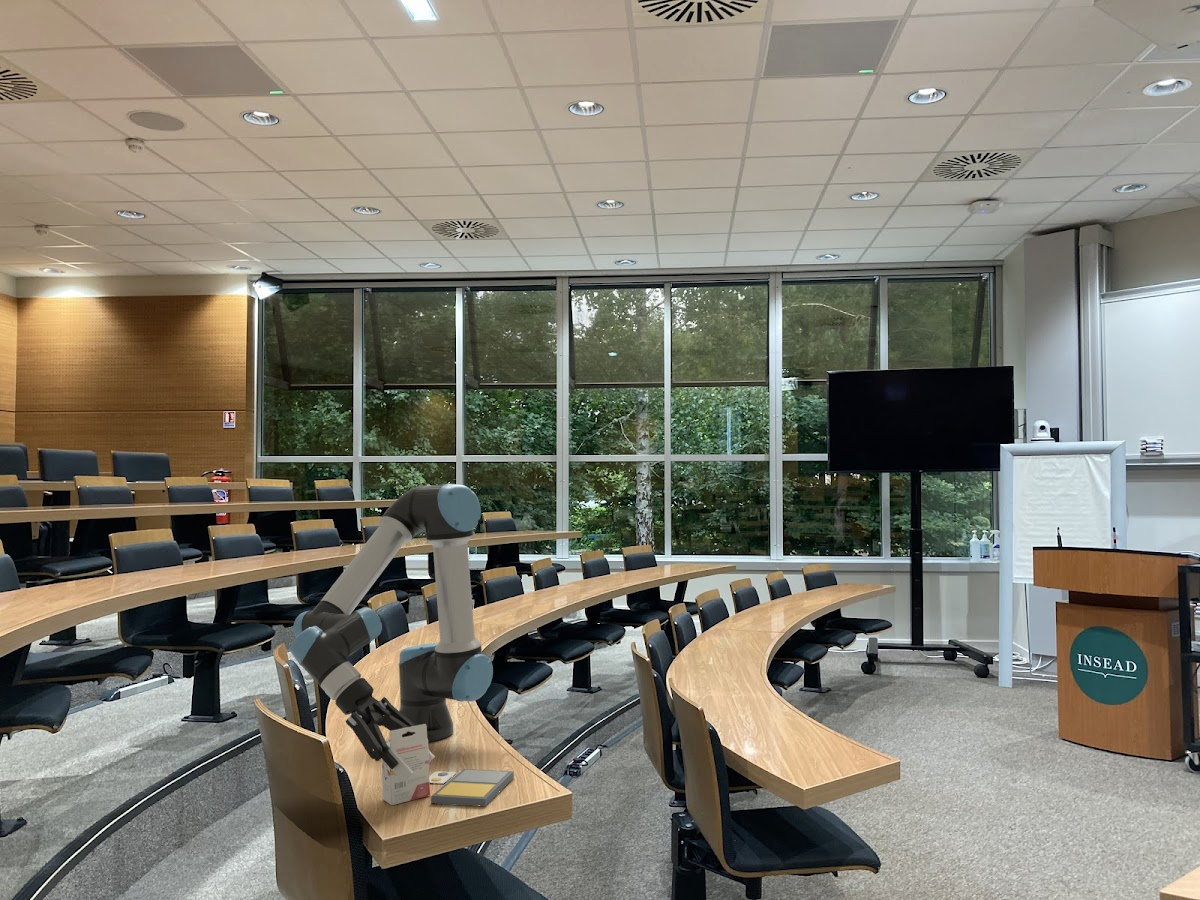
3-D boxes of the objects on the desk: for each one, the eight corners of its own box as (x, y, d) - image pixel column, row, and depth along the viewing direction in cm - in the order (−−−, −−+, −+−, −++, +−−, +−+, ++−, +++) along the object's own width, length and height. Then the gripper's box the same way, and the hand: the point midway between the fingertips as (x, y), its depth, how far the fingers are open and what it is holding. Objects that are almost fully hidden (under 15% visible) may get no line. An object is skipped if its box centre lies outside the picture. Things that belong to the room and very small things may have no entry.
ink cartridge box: (420, 789, 175) (419, 718, 176) (430, 796, 171) (429, 723, 172) (381, 799, 170) (380, 726, 171) (390, 806, 166) (389, 731, 167)
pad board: (463, 775, 183) (463, 768, 183) (513, 778, 181) (513, 770, 181) (431, 803, 167) (431, 795, 167) (485, 806, 164) (485, 798, 165)
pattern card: (435, 772, 186) (435, 770, 186) (456, 773, 185) (456, 771, 185) (422, 783, 179) (422, 781, 179) (443, 784, 178) (443, 782, 178)
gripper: (363, 689, 186) (431, 764, 182) (307, 715, 165) (382, 801, 160) (384, 665, 185) (453, 740, 181) (330, 688, 164) (406, 774, 159)
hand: (419, 769), depth 170 cm, fingers closed on ink cartridge box, 9 cm apart
